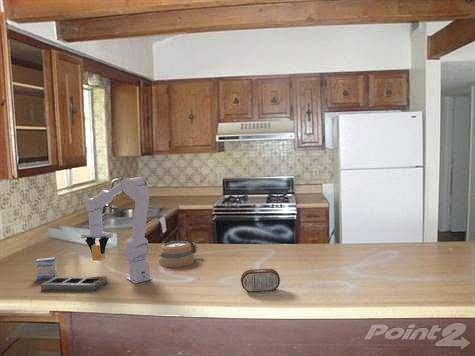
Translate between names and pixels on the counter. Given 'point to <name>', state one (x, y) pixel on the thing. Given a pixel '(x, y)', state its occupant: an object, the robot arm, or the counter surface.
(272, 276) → the brown portable speaker
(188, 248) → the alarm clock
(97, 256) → the square block
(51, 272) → the medicine box
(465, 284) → the counter surface
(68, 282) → the gray board with holes
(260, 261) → the counter surface
